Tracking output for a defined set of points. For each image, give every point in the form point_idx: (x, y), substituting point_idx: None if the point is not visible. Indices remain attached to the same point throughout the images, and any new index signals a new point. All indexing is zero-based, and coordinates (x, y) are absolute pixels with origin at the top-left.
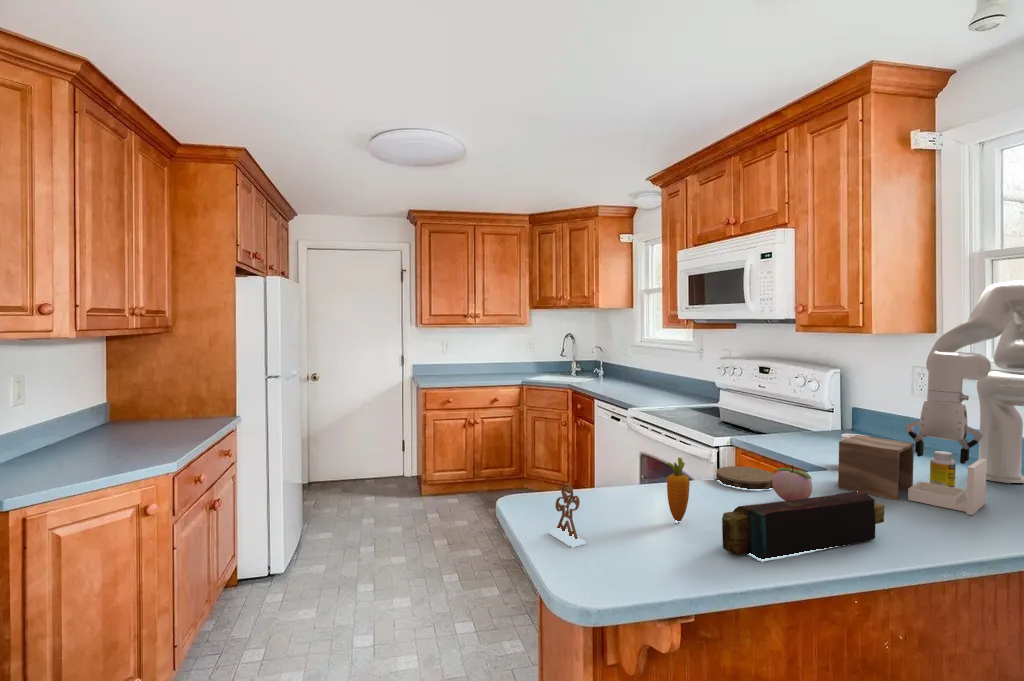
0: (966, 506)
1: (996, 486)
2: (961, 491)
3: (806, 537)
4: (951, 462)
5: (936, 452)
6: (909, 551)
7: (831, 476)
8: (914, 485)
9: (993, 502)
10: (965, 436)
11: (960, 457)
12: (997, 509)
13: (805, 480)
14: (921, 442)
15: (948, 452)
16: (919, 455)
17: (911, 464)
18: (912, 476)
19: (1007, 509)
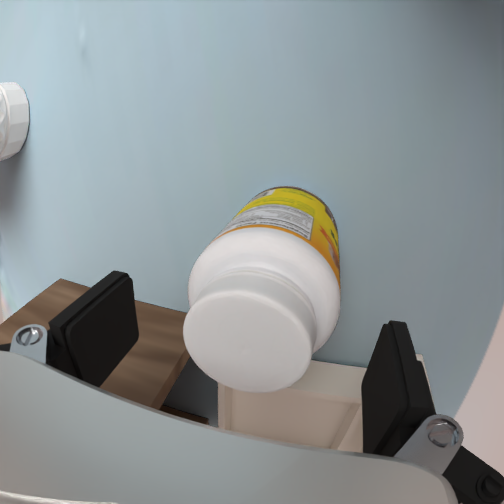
0: (356, 444)
1: (470, 11)
2: (351, 423)
3: None
4: (314, 352)
5: (204, 370)
6: None
7: (30, 289)
8: (221, 422)
9: (452, 313)
10: (449, 490)
11: (363, 413)
12: (439, 380)
13: None
14: (74, 365)
15: (279, 322)
16: (133, 340)
17: (160, 403)
18: (184, 357)
19: (466, 364)
